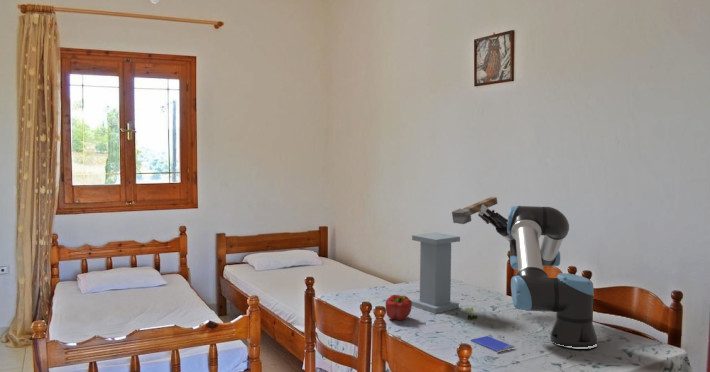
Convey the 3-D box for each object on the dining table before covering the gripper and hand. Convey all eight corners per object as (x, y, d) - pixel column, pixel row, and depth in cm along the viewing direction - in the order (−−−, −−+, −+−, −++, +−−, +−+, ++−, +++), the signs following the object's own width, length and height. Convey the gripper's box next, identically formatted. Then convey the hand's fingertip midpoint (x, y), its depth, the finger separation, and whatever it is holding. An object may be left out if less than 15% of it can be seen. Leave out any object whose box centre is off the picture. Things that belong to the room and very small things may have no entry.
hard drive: (514, 346, 191) (488, 335, 202) (496, 350, 187) (470, 339, 198) (514, 350, 191) (487, 339, 202) (496, 355, 187) (470, 343, 198)
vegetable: (417, 321, 220) (417, 296, 220) (392, 324, 217) (393, 298, 216) (404, 314, 231) (404, 289, 230) (380, 316, 227) (381, 291, 226)
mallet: (451, 211, 249) (453, 222, 250) (462, 213, 244) (463, 224, 245) (488, 196, 263) (490, 207, 264) (499, 197, 258) (500, 208, 259)
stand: (434, 313, 232) (436, 239, 230) (411, 305, 243) (412, 235, 241) (458, 307, 240) (460, 236, 238) (434, 300, 251) (435, 232, 249)
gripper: (495, 220, 275) (467, 197, 262) (523, 223, 262) (495, 200, 249) (490, 234, 273) (461, 212, 260) (518, 238, 260) (489, 216, 247)
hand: (478, 206), depth 254 cm, fingers closed on mallet, 3 cm apart
